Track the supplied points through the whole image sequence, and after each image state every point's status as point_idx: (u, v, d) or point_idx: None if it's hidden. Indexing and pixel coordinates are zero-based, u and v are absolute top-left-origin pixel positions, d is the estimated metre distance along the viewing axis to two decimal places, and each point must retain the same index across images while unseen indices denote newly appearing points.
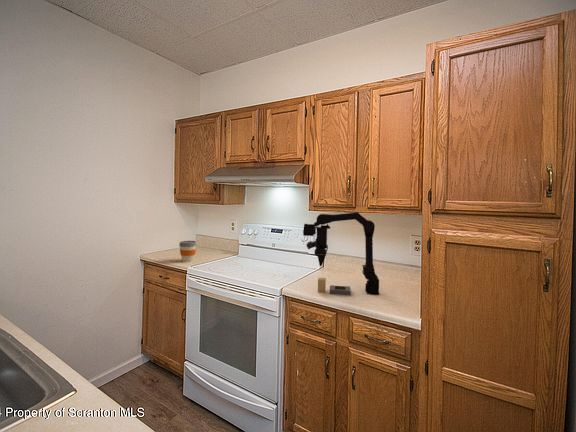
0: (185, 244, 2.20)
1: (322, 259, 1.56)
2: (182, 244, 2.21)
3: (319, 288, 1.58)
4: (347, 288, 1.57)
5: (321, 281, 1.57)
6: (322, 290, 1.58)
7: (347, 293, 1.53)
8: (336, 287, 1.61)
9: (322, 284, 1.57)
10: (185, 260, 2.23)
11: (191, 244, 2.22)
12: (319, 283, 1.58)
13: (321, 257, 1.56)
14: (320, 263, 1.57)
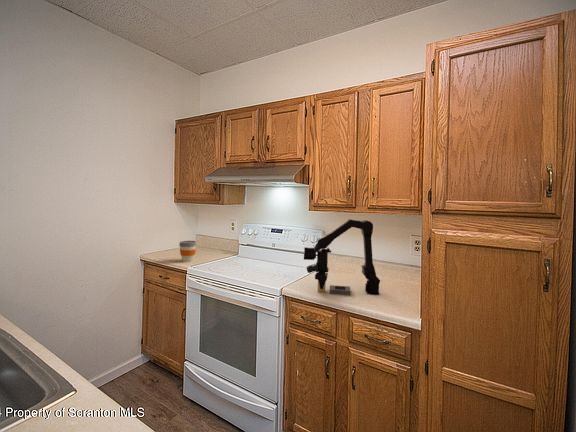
0: (185, 244, 2.20)
1: (323, 283, 1.56)
2: (182, 244, 2.21)
3: (319, 288, 1.58)
4: (347, 288, 1.57)
5: None
6: (322, 290, 1.58)
7: (347, 293, 1.53)
8: (336, 287, 1.61)
9: None
10: (185, 260, 2.23)
11: (191, 244, 2.22)
12: None
13: (322, 281, 1.56)
14: (321, 286, 1.57)
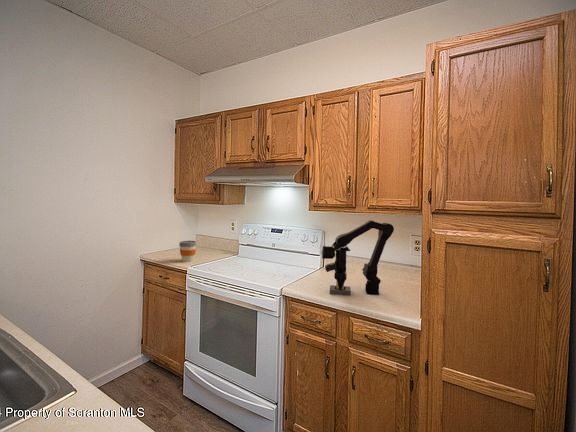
0: (185, 244, 2.20)
1: (342, 283, 1.51)
2: (182, 244, 2.21)
3: (338, 289, 1.56)
4: (347, 288, 1.57)
5: None
6: None
7: (347, 293, 1.53)
8: None
9: None
10: (185, 260, 2.23)
11: (191, 244, 2.22)
12: (337, 284, 1.56)
13: (341, 281, 1.51)
14: (340, 287, 1.52)
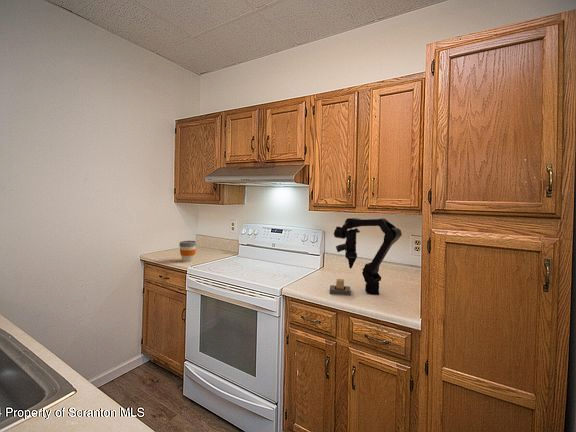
0: (185, 244, 2.20)
1: (352, 262, 1.61)
2: (182, 244, 2.21)
3: (338, 289, 1.56)
4: (347, 288, 1.57)
5: (340, 282, 1.55)
6: None
7: (347, 293, 1.53)
8: None
9: (341, 285, 1.55)
10: (185, 260, 2.23)
11: (191, 244, 2.22)
12: (337, 284, 1.56)
13: (351, 260, 1.61)
14: (350, 266, 1.62)
